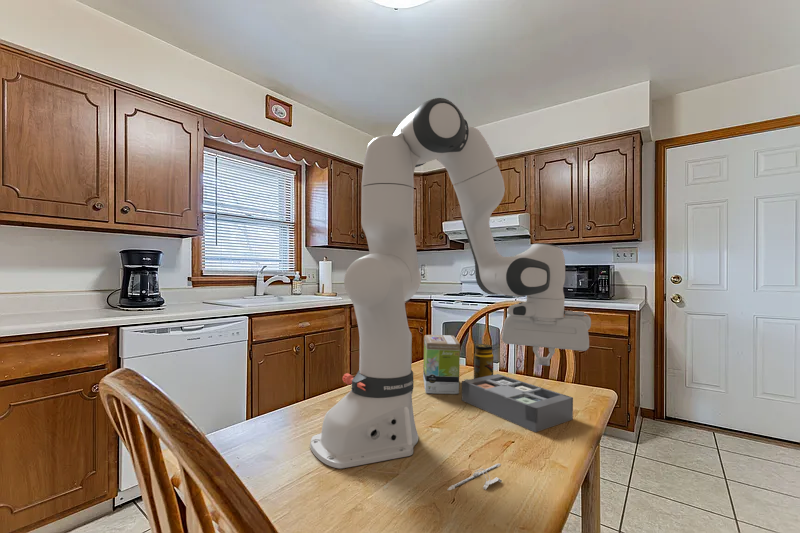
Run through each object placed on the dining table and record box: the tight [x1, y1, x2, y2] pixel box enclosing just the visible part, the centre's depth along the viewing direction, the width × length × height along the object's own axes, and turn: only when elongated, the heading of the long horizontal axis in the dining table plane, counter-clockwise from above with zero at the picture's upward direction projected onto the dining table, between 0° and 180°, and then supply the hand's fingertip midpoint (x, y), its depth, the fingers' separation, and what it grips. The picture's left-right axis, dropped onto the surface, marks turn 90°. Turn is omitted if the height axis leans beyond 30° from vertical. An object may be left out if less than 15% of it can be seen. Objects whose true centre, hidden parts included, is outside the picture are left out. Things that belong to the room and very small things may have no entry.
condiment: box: [463, 343, 494, 381], centre depth 123 cm, size 7×8×12 cm
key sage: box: [516, 397, 537, 404], centre depth 93 cm, size 4×4×2 cm
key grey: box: [494, 380, 515, 388], centre depth 108 cm, size 4×4×2 cm
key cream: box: [515, 386, 534, 398], centre depth 103 cm, size 4×4×2 cm
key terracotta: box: [477, 384, 494, 389], centre depth 104 cm, size 4×4×2 cm
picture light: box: [447, 463, 503, 491], centre depth 67 cm, size 14×4×2 cm, turn 128°
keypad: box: [461, 373, 574, 433], centre depth 101 cm, size 14×24×5 cm, turn 33°
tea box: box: [422, 334, 461, 395], centre depth 119 cm, size 15×10×15 cm
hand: (543, 364), depth 97 cm, fingers closed
